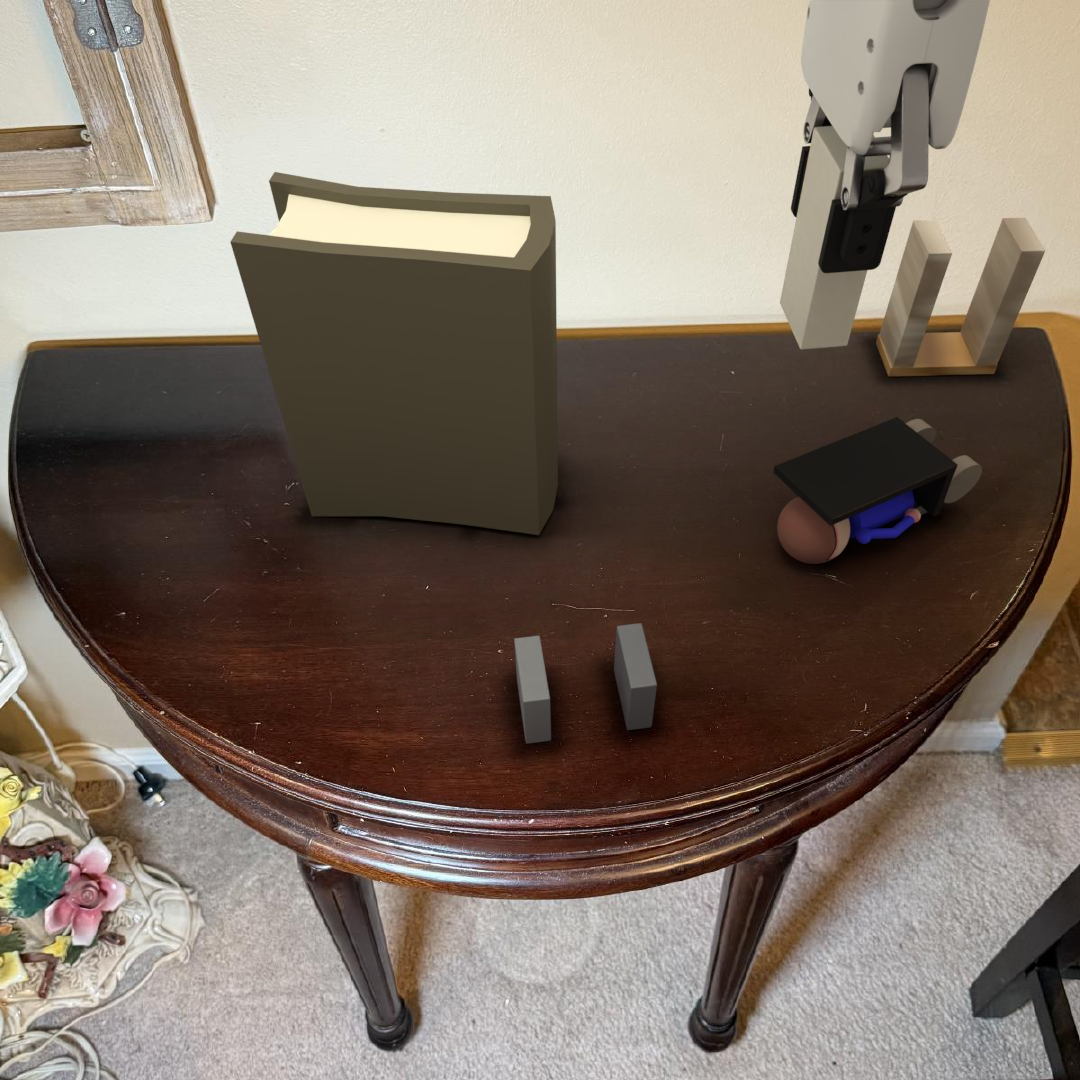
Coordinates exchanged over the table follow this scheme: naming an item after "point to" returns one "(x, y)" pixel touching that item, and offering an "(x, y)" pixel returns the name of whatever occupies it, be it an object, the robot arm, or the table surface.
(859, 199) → the robot arm
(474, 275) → the book
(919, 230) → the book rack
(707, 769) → the table surface
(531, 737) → the grey rectangular blocks
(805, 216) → the beige rectangular block
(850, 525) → the figurine character
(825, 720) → the table surface
